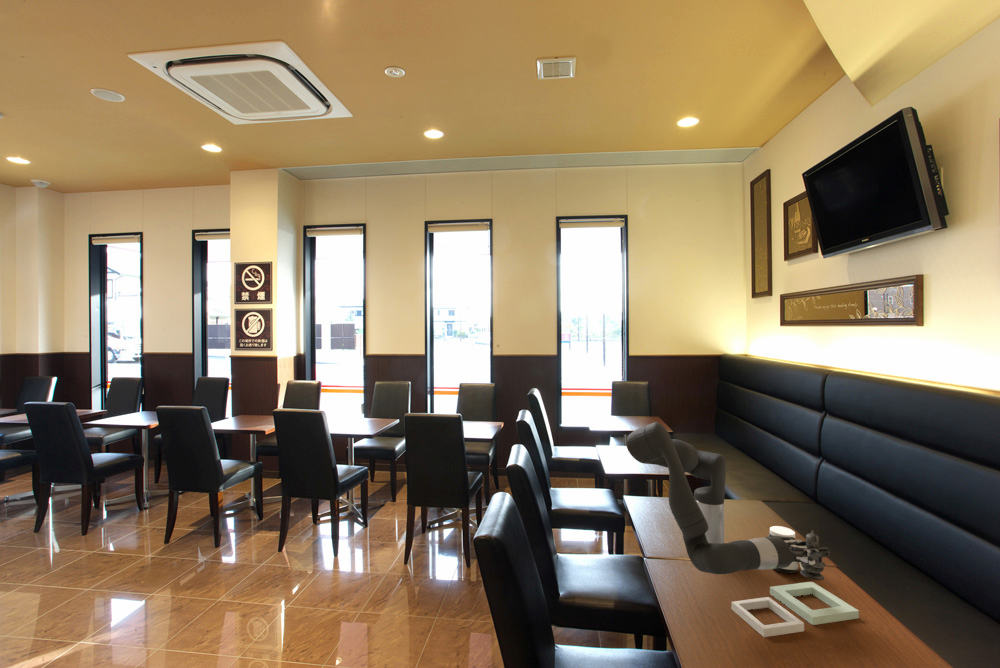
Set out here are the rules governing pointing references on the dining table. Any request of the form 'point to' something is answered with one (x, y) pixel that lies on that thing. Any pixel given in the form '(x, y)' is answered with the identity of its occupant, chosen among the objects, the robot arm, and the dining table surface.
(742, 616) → the white square frame
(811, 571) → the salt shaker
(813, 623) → the light green square frame
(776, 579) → the dining table surface
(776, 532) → the spread jar
